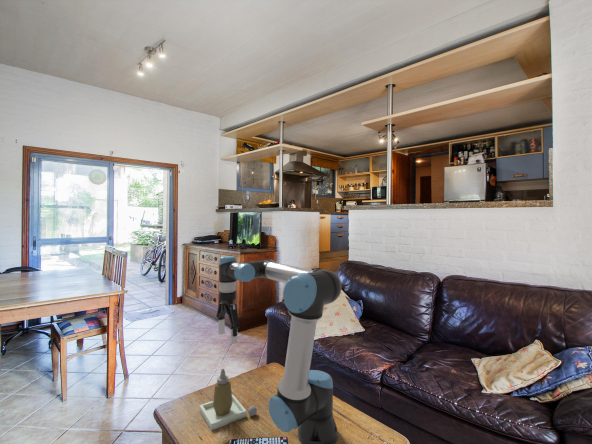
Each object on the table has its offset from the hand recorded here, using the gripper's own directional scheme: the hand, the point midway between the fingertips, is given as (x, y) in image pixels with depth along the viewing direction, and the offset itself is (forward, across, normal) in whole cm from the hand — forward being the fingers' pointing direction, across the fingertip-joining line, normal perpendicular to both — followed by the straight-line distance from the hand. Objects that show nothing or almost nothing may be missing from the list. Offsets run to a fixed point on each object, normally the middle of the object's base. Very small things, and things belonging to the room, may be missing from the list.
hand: (227, 338), depth 134 cm
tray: (+29, -5, +4) cm, 30 cm away
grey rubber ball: (+29, -13, -6) cm, 33 cm away
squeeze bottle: (+29, -5, +4) cm, 30 cm away
